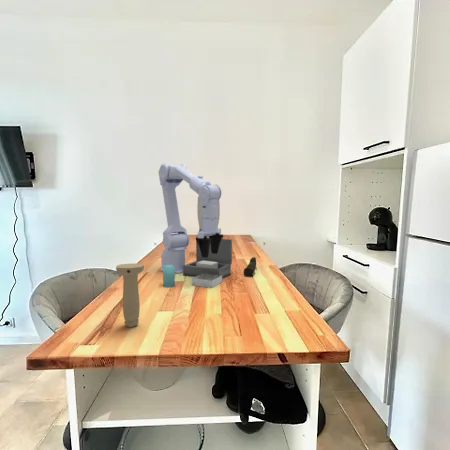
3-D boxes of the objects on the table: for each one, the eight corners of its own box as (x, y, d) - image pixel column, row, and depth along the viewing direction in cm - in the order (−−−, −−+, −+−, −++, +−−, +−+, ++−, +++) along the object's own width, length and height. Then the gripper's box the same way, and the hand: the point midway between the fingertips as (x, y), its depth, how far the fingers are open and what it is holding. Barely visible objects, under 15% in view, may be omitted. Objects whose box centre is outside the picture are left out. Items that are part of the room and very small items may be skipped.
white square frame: (192, 284, 114) (192, 278, 114) (203, 279, 121) (203, 273, 121) (211, 287, 110) (211, 280, 110) (222, 282, 117) (222, 275, 117)
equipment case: (183, 275, 127) (182, 240, 125) (197, 269, 136) (197, 236, 135) (219, 280, 120) (219, 243, 118) (231, 273, 129) (231, 239, 128)
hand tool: (253, 278, 124) (253, 266, 124) (243, 277, 125) (243, 265, 125) (260, 267, 142) (260, 256, 142) (251, 266, 143) (251, 256, 143)
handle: (120, 321, 81) (118, 263, 80) (146, 320, 82) (144, 263, 81) (116, 330, 77) (114, 268, 75) (143, 328, 77) (142, 267, 76)
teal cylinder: (160, 286, 112) (160, 266, 112) (167, 283, 116) (167, 264, 115) (170, 287, 111) (170, 267, 110) (177, 284, 114) (176, 265, 113)
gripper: (210, 220, 108) (210, 260, 109) (228, 217, 121) (228, 252, 122) (192, 219, 111) (192, 258, 112) (211, 216, 124) (211, 251, 125)
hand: (209, 255), depth 118 cm, fingers open, 7 cm apart
